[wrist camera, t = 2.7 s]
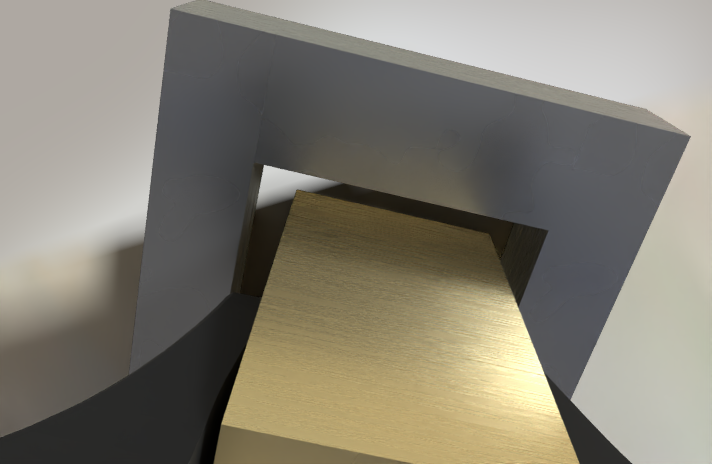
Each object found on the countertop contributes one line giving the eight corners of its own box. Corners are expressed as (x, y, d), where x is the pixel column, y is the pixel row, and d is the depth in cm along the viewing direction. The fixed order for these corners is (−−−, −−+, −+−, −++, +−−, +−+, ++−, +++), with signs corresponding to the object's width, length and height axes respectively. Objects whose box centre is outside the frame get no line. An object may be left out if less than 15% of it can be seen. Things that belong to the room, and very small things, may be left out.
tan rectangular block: (489, 233, 13) (593, 500, 7) (434, 389, 15) (479, 724, 9) (296, 189, 13) (222, 423, 7) (262, 352, 15) (174, 669, 8)
